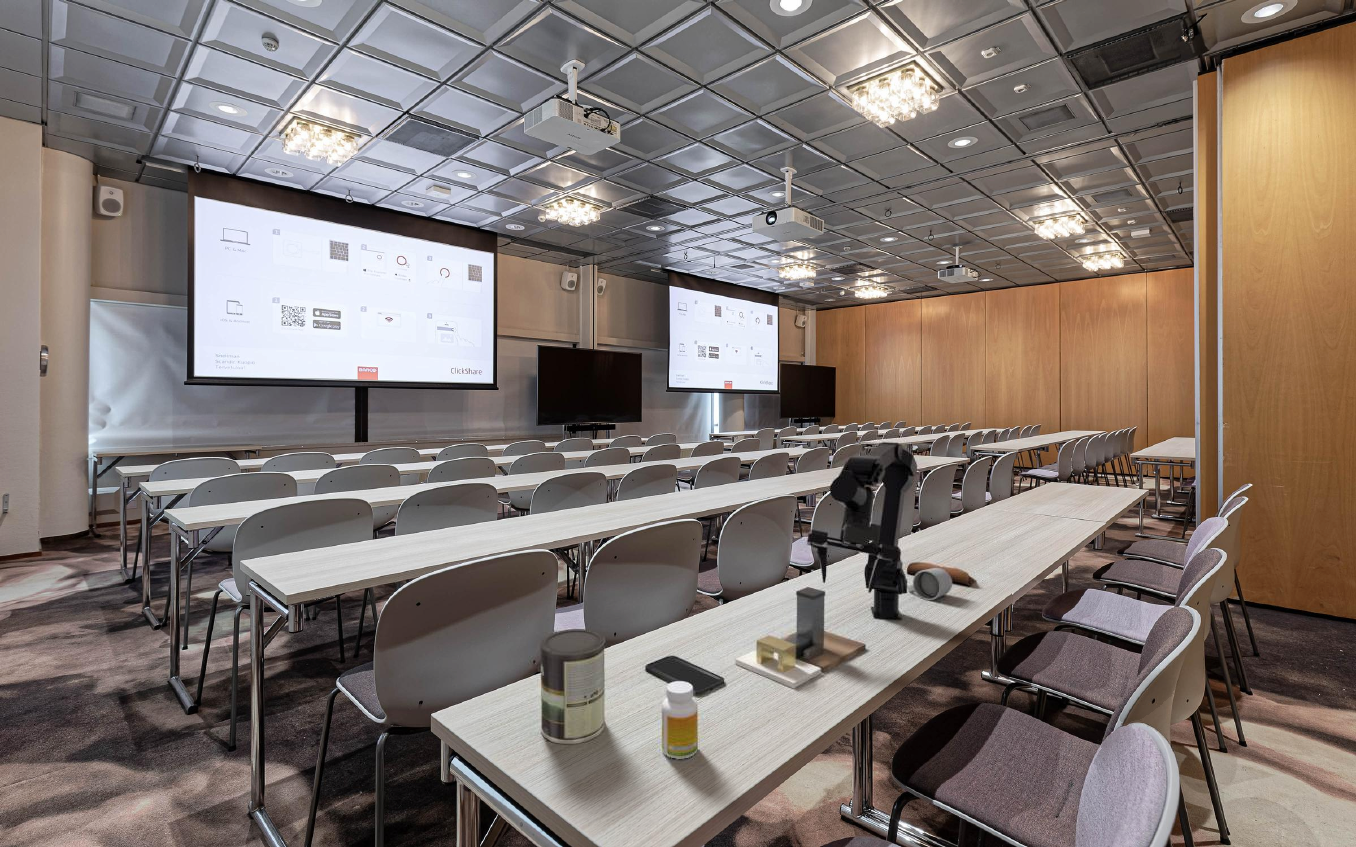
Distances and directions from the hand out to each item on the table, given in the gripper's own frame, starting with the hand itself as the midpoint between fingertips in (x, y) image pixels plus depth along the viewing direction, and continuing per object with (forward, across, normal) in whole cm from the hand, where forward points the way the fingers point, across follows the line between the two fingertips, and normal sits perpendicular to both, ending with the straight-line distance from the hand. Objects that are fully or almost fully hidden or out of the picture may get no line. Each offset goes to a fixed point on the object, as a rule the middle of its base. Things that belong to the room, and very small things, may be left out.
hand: (846, 587), depth 127 cm
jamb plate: (+18, -11, -6) cm, 22 cm away
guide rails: (+16, -7, 0) cm, 17 cm away
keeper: (+18, -11, -6) cm, 22 cm away
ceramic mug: (-5, +23, +44) cm, 50 cm away
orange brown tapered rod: (-12, +30, +61) cm, 69 cm away
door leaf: (+14, -4, +4) cm, 15 cm away
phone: (+24, -28, -12) cm, 38 cm away
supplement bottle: (+31, -22, -34) cm, 52 cm away
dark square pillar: (+14, -7, 0) cm, 16 cm away
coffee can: (+33, -40, -32) cm, 61 cm away
